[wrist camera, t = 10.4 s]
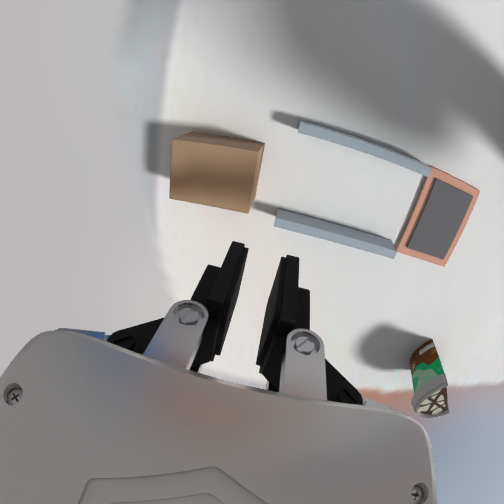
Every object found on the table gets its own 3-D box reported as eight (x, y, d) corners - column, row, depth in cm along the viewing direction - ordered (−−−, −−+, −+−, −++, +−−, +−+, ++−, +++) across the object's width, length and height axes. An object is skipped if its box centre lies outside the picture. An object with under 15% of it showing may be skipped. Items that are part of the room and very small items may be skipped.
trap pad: (430, 165, 26) (432, 167, 25) (478, 190, 25) (481, 192, 25) (395, 249, 31) (396, 252, 31) (443, 264, 31) (445, 267, 31)
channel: (300, 120, 26) (300, 122, 24) (422, 162, 26) (431, 168, 24) (275, 216, 32) (273, 226, 30) (388, 247, 31) (393, 258, 29)
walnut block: (191, 132, 28) (172, 139, 24) (264, 143, 28) (258, 151, 24) (187, 183, 32) (169, 198, 27) (255, 195, 31) (248, 213, 27)
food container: (397, 348, 40) (408, 399, 31) (431, 333, 37) (448, 383, 29) (409, 382, 44) (417, 426, 36) (437, 370, 42) (449, 413, 33)
